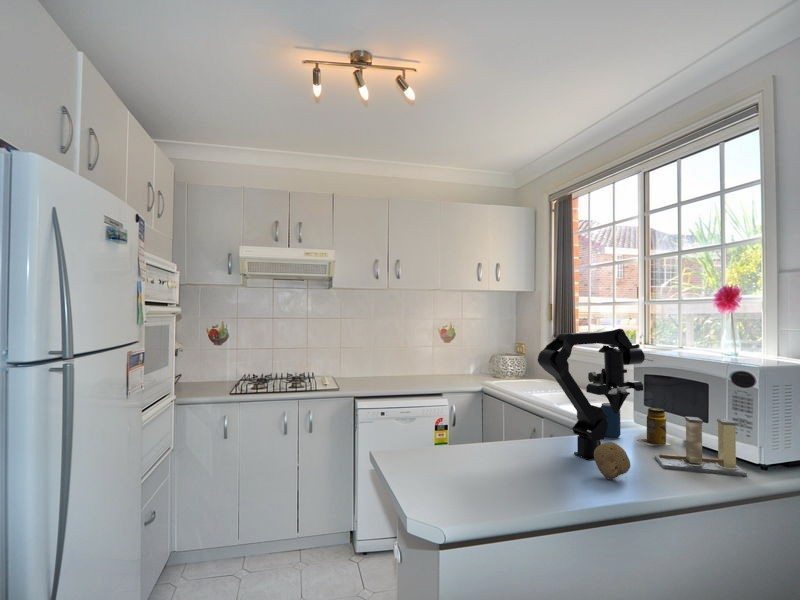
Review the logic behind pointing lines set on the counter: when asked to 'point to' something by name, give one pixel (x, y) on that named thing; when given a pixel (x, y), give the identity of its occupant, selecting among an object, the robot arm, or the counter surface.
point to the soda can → (611, 422)
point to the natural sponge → (611, 460)
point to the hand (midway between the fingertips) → (615, 413)
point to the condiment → (655, 427)
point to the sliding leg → (694, 439)
